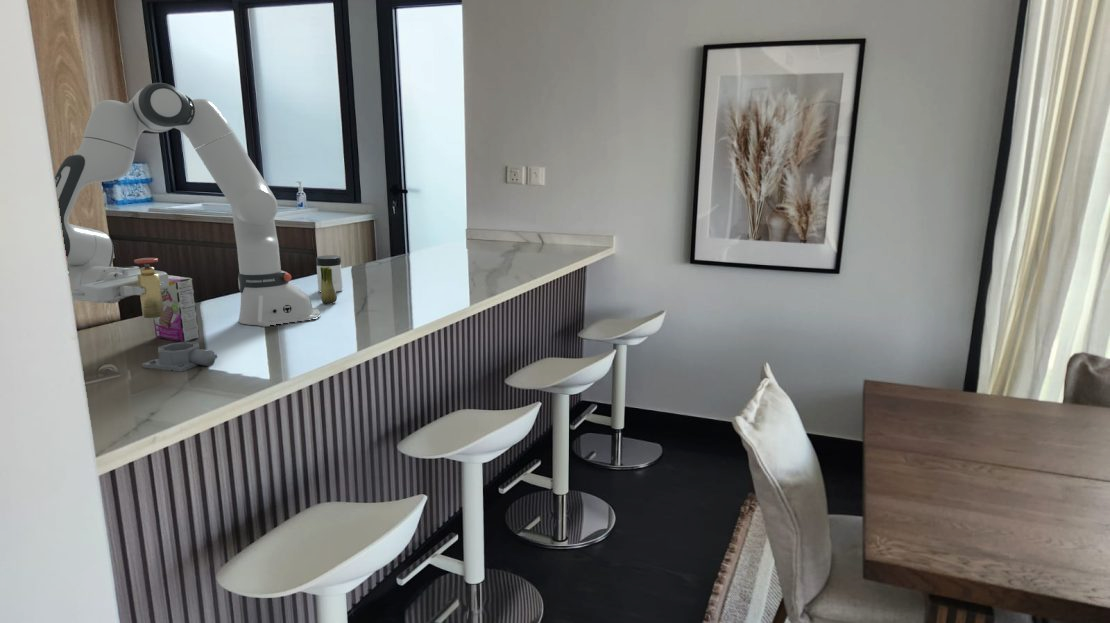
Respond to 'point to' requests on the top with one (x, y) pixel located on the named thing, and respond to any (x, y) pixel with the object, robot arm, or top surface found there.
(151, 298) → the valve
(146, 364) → the fitting
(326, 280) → the fennel bulb
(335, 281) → the jar
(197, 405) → the top surface
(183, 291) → the candy bar box
